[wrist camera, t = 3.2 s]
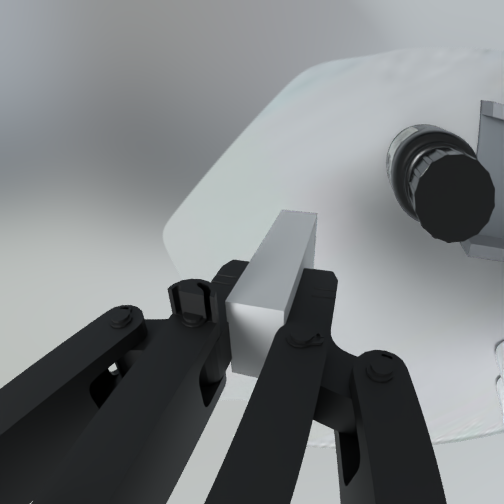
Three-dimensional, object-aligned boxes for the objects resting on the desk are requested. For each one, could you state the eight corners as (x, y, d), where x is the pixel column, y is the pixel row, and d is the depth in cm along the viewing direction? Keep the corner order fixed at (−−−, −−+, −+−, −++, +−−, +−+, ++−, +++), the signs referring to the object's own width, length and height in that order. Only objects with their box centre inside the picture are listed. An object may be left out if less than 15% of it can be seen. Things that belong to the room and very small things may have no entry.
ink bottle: (383, 118, 29) (399, 129, 19) (461, 122, 26) (510, 138, 16) (386, 207, 33) (397, 259, 23) (459, 209, 30) (496, 260, 20)
